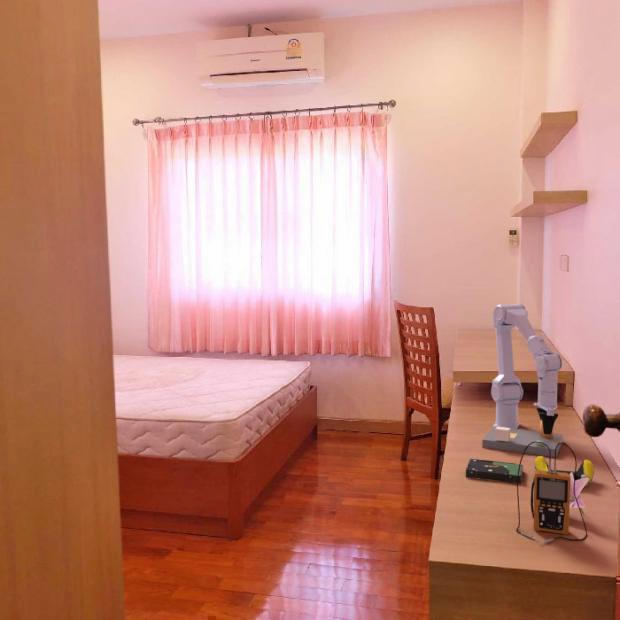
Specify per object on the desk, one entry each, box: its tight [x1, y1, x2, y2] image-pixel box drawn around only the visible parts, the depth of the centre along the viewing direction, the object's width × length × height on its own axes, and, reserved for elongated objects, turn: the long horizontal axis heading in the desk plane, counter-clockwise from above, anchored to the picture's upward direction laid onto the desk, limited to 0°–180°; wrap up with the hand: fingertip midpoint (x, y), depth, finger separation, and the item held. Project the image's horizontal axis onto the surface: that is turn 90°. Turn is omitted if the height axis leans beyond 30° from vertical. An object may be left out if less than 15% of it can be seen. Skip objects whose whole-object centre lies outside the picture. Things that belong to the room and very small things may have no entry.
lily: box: [569, 472, 589, 515], centre depth 143 cm, size 12×12×10 cm
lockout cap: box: [539, 419, 554, 438], centre depth 198 cm, size 4×4×6 cm
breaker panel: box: [481, 426, 564, 458], centre depth 198 cm, size 18×22×4 cm
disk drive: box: [465, 458, 524, 485], centre depth 171 cm, size 10×3×15 cm
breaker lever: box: [495, 427, 510, 442], centre depth 193 cm, size 3×4×4 cm
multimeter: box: [515, 442, 588, 545], centre depth 131 cm, size 15×10×20 cm
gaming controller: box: [534, 455, 595, 488], centre depth 165 cm, size 15×6×10 cm
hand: (546, 432), depth 198 cm, fingers closed on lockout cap, 4 cm apart
